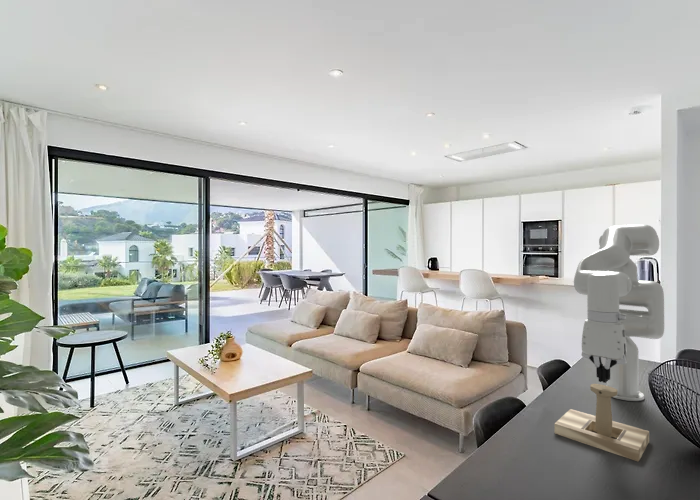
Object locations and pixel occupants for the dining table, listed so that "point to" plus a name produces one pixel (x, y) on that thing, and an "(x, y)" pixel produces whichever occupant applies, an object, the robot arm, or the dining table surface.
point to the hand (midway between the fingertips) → (603, 380)
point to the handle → (603, 408)
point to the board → (582, 425)
